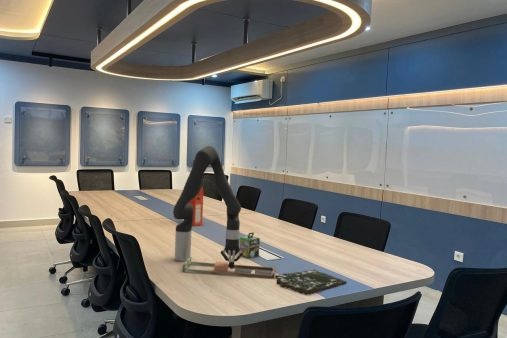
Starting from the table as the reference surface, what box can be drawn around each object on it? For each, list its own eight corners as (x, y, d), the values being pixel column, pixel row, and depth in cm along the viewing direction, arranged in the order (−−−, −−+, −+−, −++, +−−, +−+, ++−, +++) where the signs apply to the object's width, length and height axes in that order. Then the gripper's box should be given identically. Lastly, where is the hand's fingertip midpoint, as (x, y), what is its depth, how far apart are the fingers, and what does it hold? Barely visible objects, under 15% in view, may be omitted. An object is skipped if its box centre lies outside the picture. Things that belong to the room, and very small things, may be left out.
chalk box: (249, 252, 256) (250, 230, 255) (259, 256, 250) (260, 232, 249) (238, 255, 250) (239, 231, 249) (248, 258, 243) (250, 234, 242)
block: (215, 268, 221) (215, 261, 221) (227, 269, 221) (228, 262, 221) (214, 272, 214) (214, 265, 214) (227, 273, 214) (227, 266, 214)
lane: (189, 264, 226) (189, 257, 226) (274, 270, 223) (275, 263, 223) (182, 272, 212) (182, 264, 212) (274, 278, 208) (274, 271, 208)
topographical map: (346, 284, 207) (346, 278, 207) (302, 297, 186) (303, 291, 186) (309, 270, 227) (309, 265, 226) (266, 281, 206) (266, 275, 206)
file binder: (193, 226, 327) (195, 187, 325) (184, 222, 341) (185, 185, 339) (202, 225, 332) (203, 187, 330) (192, 221, 346) (194, 185, 344)
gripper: (245, 236, 220) (244, 267, 221) (221, 235, 221) (220, 265, 222) (244, 239, 212) (242, 271, 213) (219, 238, 213) (218, 269, 214)
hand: (231, 268), depth 218 cm, fingers closed
